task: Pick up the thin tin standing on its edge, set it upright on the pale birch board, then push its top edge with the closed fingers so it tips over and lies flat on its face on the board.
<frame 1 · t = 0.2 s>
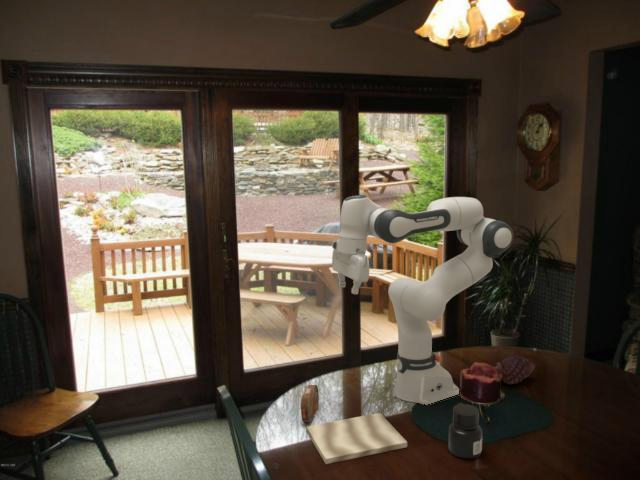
hand: (348, 290, 165), 39 cm above the table, tool pointing down, fingers open, 8 cm apart
birch board: (355, 438, 151), on the table
tin: (310, 415, 165), on the table
pine cone: (514, 383, 186), on the table
ink bottle: (464, 451, 144), on the table
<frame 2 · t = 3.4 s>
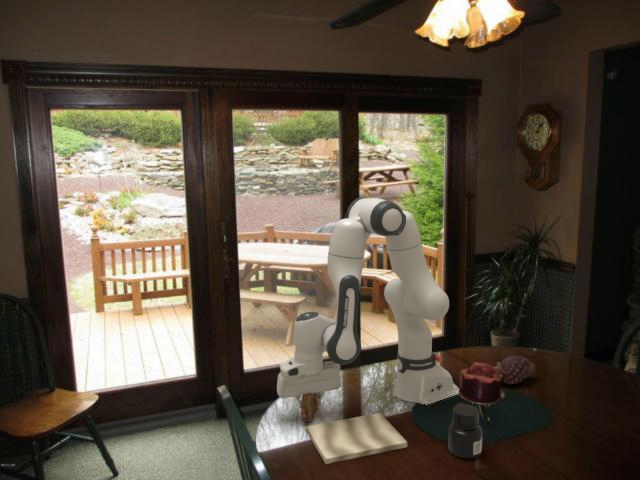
hand: (309, 405, 165), 3 cm above the table, tool pointing down, fingers closed on tin, 4 cm apart
tin: (310, 415, 165), on the table, touching gripper
everything else where it was.
when the fingers open (6 cm above the table, at t = 9.3 s): tin moves 2 cm, point 2 cm above the table.
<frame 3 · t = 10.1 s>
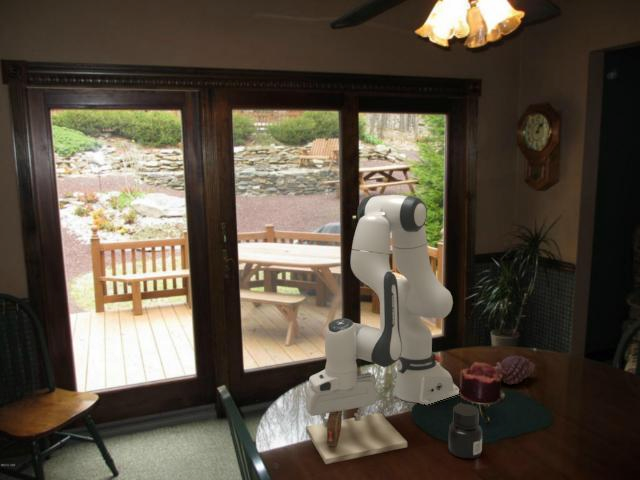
hand: (342, 423, 149), 6 cm above the table, tool pointing down, fingers open, 8 cm apart
tin: (333, 438, 149), point 2 cm above the table, touching gripper
everything else where it was.
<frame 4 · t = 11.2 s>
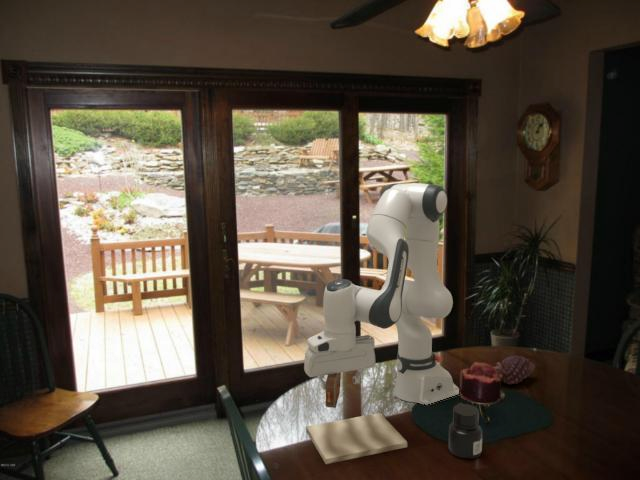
hand: (340, 385, 147), 17 cm above the table, tool pointing down, fingers open, 8 cm apart
tin: (332, 401, 147), point 13 cm above the table, touching gripper
everything else where it was.
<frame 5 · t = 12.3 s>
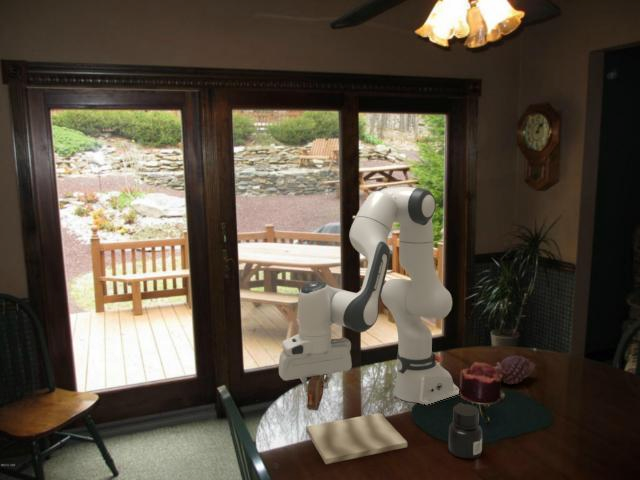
hand: (316, 389, 145), 17 cm above the table, tool pointing down, fingers closed on tin, 4 cm apart
tin: (314, 403, 145), point 13 cm above the table, touching gripper
everything else where it was.
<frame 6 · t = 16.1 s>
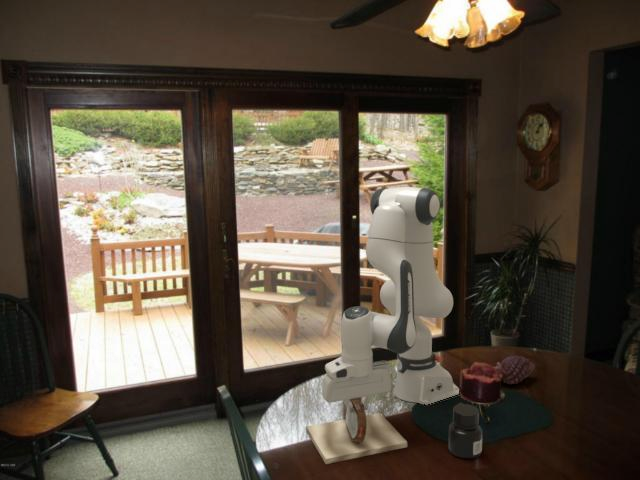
hand: (357, 410, 150), 9 cm above the table, tool pointing down, fingers closed on tin, 3 cm apart
tin: (351, 433, 150), point 2 cm above the table, touching birch board, gripper
everything else where it was.
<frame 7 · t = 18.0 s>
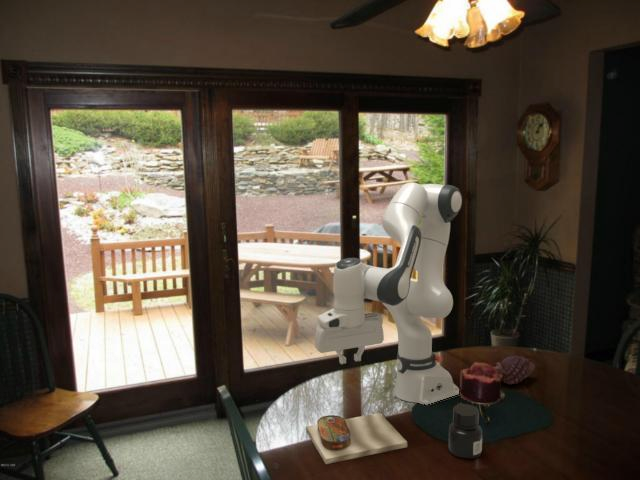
hand: (350, 361, 151), 22 cm above the table, tool pointing down, fingers open, 3 cm apart
tin: (348, 431, 150), point 3 cm above the table, touching birch board
everything else where it was.
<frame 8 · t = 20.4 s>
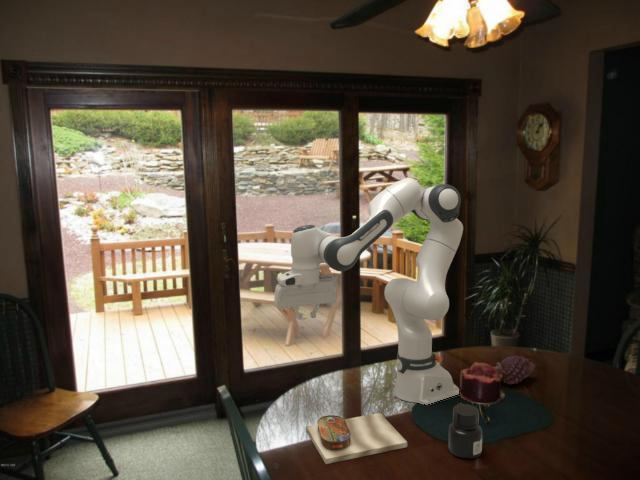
hand: (306, 318, 169), 29 cm above the table, tool pointing down, fingers open, 3 cm apart
nothing on the table moved.
at the end: tin tilted 86°; tin inside the target area (0.6 cm from its centre), point 2.6 cm above the table; the gripper is holding nothing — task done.
